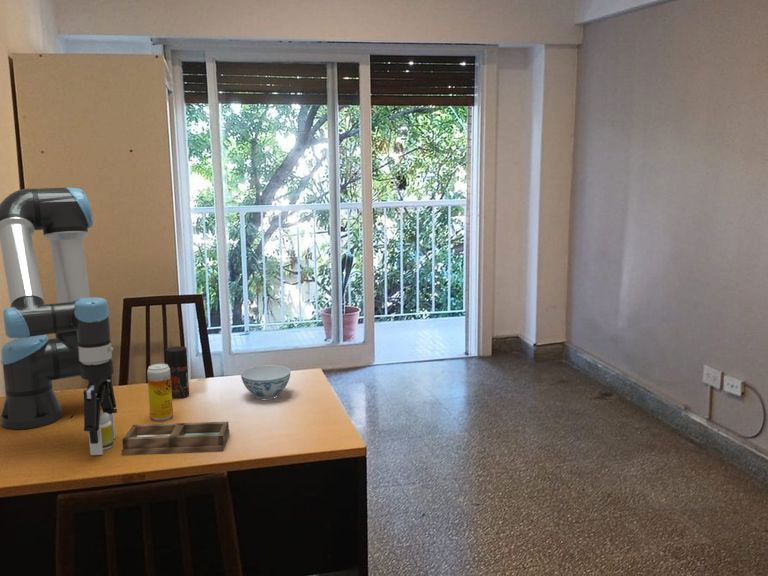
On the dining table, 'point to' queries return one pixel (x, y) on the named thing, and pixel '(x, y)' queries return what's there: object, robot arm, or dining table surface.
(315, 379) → the dining table surface
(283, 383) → the chinaware
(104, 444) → the supplement bottle
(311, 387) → the dining table surface
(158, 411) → the yellow canister
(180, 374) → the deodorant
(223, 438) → the divided tray
